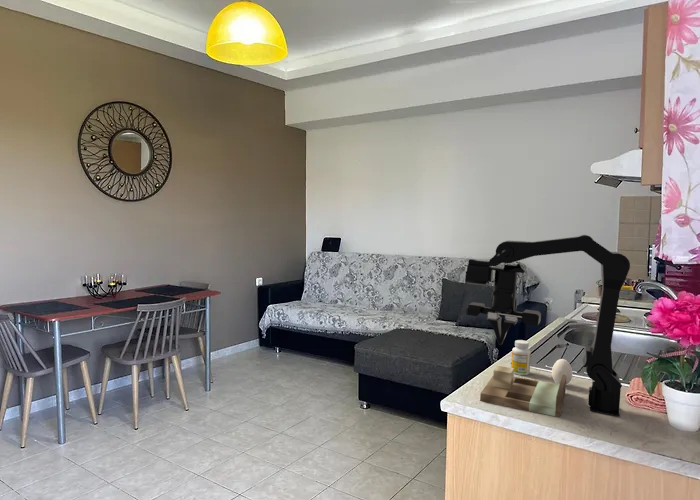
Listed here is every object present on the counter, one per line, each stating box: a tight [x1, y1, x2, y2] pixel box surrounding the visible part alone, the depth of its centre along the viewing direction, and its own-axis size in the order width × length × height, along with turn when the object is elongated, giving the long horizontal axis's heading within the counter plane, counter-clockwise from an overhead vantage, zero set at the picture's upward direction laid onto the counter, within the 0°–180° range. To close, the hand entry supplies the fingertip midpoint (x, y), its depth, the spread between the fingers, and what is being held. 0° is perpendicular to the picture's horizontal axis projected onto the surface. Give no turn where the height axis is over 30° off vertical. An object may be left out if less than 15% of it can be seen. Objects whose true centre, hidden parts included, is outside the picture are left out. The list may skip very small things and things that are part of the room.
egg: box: [551, 358, 573, 386], centre depth 136 cm, size 5×5×8 cm
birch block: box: [492, 365, 515, 390], centre depth 129 cm, size 4×4×4 cm
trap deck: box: [479, 375, 567, 418], centre depth 126 cm, size 19×18×5 cm
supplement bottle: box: [510, 339, 532, 376], centre depth 146 cm, size 5×5×10 cm
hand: (500, 344), depth 129 cm, fingers closed
